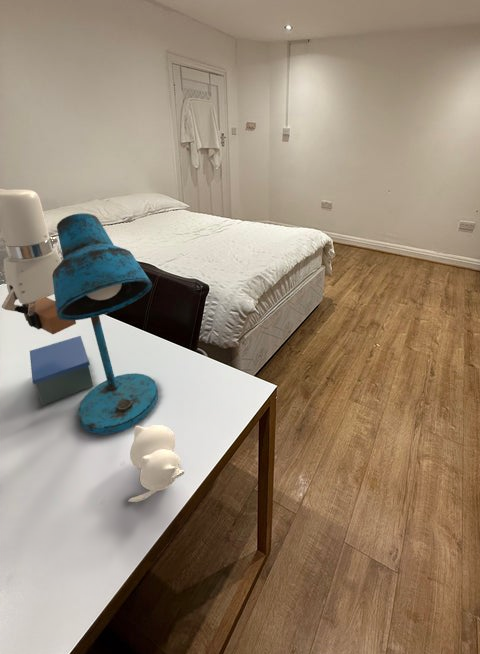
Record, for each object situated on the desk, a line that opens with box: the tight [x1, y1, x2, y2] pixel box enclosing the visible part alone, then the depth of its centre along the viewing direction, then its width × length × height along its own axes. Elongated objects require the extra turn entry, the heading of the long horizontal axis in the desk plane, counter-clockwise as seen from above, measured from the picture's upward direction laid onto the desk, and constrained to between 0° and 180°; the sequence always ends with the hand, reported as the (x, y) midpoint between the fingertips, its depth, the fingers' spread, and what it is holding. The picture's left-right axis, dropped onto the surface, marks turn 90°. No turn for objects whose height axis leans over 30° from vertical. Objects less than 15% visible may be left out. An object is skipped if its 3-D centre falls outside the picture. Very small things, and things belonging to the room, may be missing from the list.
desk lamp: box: [52, 212, 159, 435], centre depth 65 cm, size 16×22×45 cm
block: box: [23, 297, 77, 335], centre depth 75 cm, size 11×5×4 cm, turn 63°
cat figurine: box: [128, 424, 185, 503], centre depth 59 cm, size 9×11×12 cm
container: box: [29, 335, 94, 406], centre depth 79 cm, size 13×11×8 cm
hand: (50, 320), depth 75 cm, fingers closed on block, 5 cm apart
